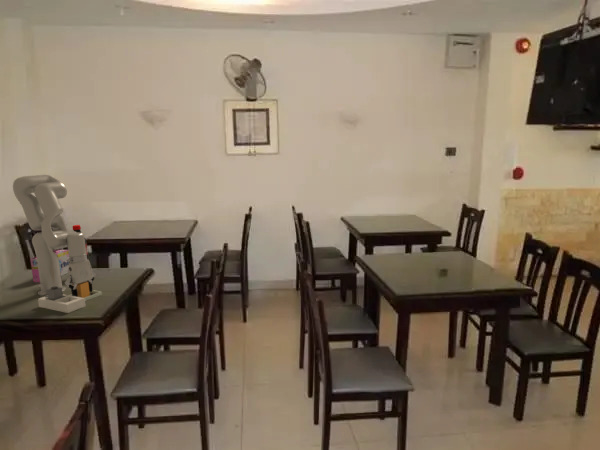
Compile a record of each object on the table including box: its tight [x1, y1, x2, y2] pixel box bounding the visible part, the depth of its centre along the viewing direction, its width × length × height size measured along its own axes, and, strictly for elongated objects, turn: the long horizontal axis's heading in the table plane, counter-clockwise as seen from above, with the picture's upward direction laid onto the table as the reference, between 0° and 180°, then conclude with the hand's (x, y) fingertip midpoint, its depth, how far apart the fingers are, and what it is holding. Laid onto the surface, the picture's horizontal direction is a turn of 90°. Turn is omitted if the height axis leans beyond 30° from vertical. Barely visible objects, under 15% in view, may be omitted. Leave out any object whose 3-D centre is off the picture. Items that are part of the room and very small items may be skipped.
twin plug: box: [46, 286, 64, 301], centre depth 211 cm, size 4×4×9 cm
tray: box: [69, 289, 103, 302], centre depth 221 cm, size 11×13×3 cm
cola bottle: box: [72, 224, 89, 260], centre depth 257 cm, size 8×8×30 cm
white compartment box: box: [37, 293, 87, 314], centre depth 210 cm, size 23×9×6 cm, turn 63°
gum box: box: [29, 248, 70, 283], centre depth 263 cm, size 24×8×14 cm, turn 168°
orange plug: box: [76, 282, 91, 298], centre depth 221 cm, size 4×4×9 cm
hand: (82, 293), depth 221 cm, fingers open, 7 cm apart
